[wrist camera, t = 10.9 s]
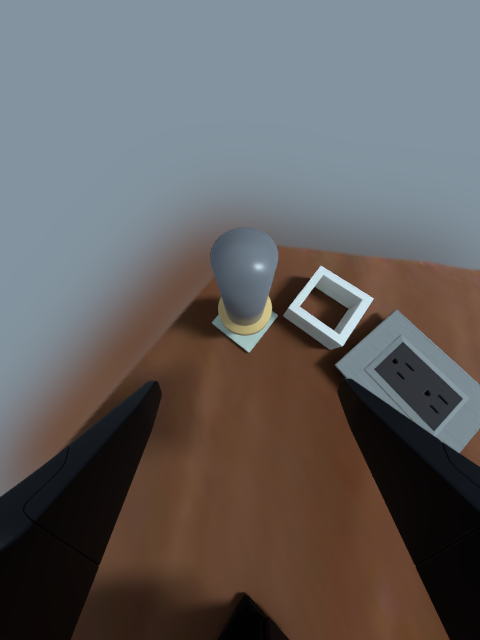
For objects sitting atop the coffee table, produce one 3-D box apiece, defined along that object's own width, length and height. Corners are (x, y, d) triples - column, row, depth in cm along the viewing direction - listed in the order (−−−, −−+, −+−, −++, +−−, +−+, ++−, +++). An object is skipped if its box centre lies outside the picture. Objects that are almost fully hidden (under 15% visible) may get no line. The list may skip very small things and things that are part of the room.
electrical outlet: (327, 365, 22) (336, 364, 20) (384, 314, 24) (399, 308, 22) (418, 467, 19) (441, 479, 17) (475, 400, 21) (504, 403, 19)
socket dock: (330, 349, 22) (342, 346, 20) (282, 315, 24) (288, 307, 21) (358, 307, 24) (373, 298, 21) (312, 278, 25) (321, 265, 22)
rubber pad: (248, 353, 23) (249, 352, 22) (212, 323, 24) (211, 322, 23) (277, 316, 24) (278, 315, 23) (241, 290, 25) (241, 288, 24)
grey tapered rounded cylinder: (258, 347, 22) (275, 313, 10) (216, 331, 23) (180, 280, 10) (273, 307, 24) (303, 231, 11) (232, 293, 24) (218, 207, 12)
